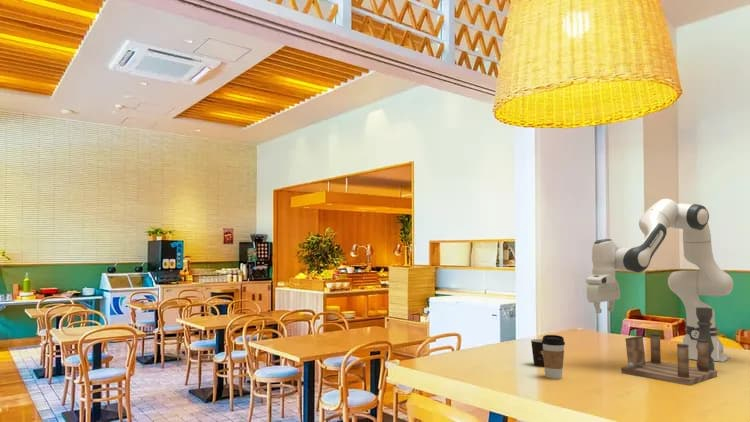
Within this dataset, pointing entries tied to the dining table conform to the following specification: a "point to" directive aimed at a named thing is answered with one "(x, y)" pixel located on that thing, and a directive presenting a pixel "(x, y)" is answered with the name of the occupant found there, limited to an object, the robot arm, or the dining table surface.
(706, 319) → the candle holder
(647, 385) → the dining table surface
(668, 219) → the robot arm
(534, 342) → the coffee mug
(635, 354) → the hinged leg
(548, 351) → the coffee cup
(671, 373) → the stool
